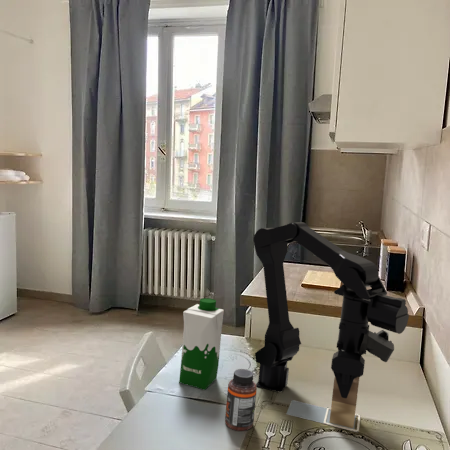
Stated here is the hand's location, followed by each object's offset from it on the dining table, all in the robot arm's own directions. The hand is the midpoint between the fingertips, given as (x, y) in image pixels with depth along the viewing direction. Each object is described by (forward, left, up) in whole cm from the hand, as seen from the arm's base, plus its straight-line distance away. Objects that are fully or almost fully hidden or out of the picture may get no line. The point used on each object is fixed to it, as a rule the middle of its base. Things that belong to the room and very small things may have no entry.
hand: (345, 388), depth 99 cm
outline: (0, 0, -7) cm, 7 cm away
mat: (-4, 0, -7) cm, 9 cm away
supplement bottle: (-20, -12, -8) cm, 25 cm away
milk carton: (-35, +2, -8) cm, 36 cm away
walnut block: (0, 0, -2) cm, 2 cm away
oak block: (0, 0, -7) cm, 7 cm away
